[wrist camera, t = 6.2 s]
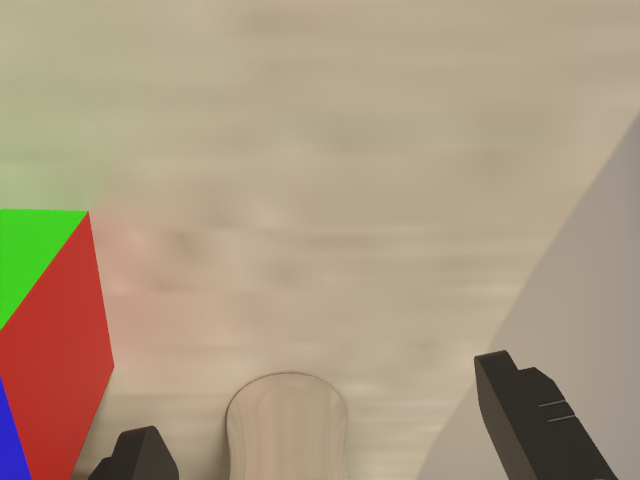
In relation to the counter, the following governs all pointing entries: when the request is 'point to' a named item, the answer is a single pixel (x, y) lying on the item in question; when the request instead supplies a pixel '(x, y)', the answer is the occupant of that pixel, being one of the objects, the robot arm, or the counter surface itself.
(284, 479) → the beer glass
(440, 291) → the counter surface
